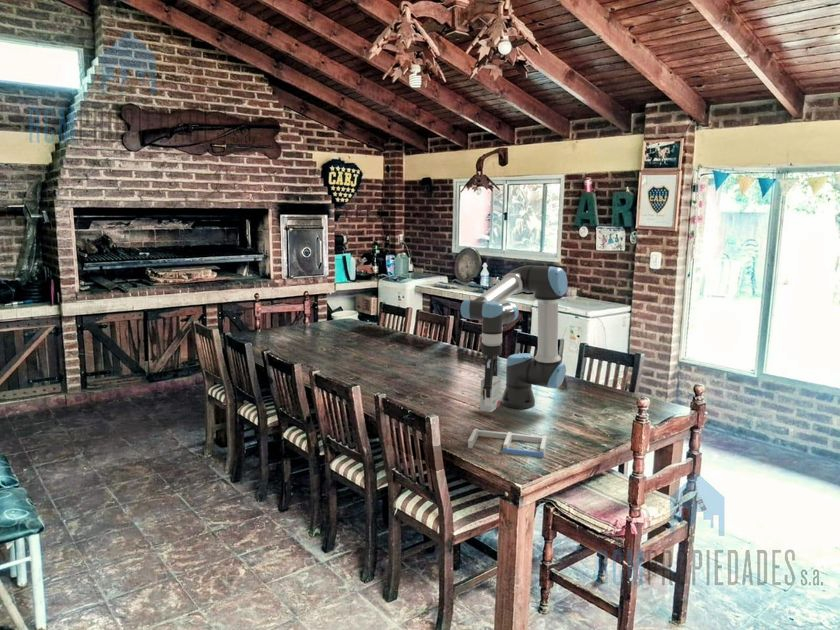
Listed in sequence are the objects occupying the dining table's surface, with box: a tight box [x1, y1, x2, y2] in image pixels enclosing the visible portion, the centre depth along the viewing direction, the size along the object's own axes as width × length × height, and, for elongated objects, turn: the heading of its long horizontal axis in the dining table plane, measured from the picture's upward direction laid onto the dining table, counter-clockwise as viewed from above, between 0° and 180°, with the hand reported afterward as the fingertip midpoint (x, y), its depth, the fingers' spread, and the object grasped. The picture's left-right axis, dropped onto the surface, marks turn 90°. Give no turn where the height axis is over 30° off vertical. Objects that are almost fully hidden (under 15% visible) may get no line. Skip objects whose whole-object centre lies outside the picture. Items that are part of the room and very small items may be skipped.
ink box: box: [479, 376, 502, 413], centre depth 242 cm, size 9×5×12 cm, turn 149°
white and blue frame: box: [467, 428, 548, 458], centre depth 247 cm, size 15×28×3 cm, turn 74°
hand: (490, 401), depth 243 cm, fingers closed on ink box, 9 cm apart
